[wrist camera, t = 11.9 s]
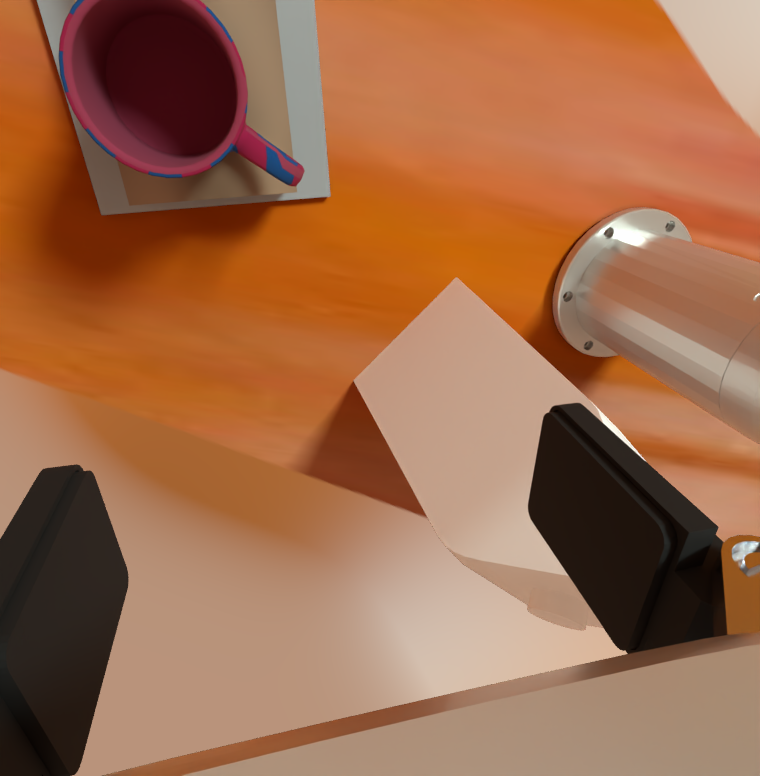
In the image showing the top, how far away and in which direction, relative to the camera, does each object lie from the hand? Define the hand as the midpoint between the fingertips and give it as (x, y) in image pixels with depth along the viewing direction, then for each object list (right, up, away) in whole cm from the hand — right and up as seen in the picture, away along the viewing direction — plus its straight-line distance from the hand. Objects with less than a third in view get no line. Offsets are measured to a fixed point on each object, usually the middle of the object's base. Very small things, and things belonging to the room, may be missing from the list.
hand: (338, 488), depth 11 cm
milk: (+7, +3, +33) cm, 33 cm away
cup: (-8, +16, +16) cm, 24 cm away
